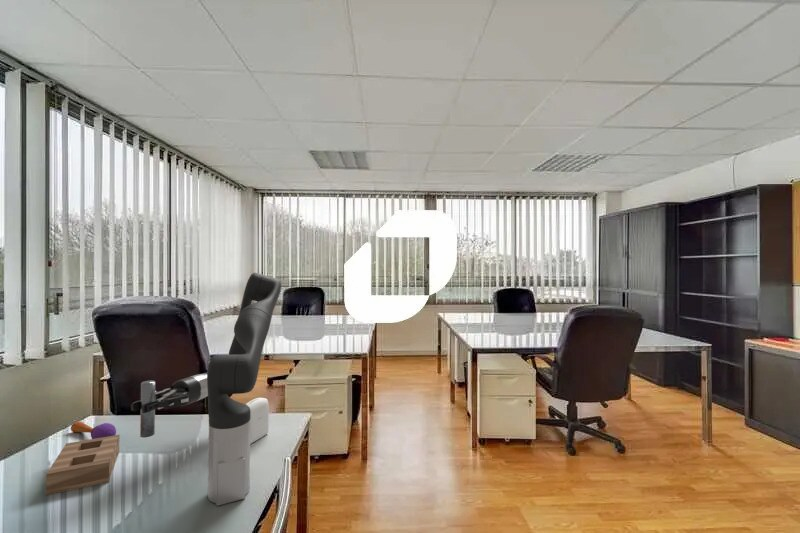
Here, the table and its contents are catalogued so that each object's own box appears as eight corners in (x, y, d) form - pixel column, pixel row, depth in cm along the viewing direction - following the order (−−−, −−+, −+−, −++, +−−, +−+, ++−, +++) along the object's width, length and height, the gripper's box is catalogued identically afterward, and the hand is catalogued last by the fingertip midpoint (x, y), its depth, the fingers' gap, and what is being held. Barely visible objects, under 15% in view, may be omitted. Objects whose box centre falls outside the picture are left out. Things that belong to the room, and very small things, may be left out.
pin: (154, 435, 102) (154, 382, 102) (139, 438, 100) (140, 384, 101) (155, 431, 105) (155, 379, 105) (140, 433, 103) (141, 381, 103)
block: (108, 482, 97) (109, 462, 97) (45, 495, 91) (46, 474, 91) (119, 451, 113) (119, 434, 113) (66, 461, 107) (66, 443, 107)
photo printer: (248, 446, 117) (248, 406, 117) (236, 444, 118) (237, 404, 118) (270, 433, 127) (271, 395, 127) (259, 431, 128) (260, 393, 128)
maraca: (89, 415, 130) (121, 423, 120) (85, 434, 128) (118, 443, 119) (67, 418, 124) (99, 426, 115) (63, 438, 123) (95, 447, 114)
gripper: (175, 374, 119) (118, 390, 102) (211, 378, 114) (157, 397, 98) (174, 398, 118) (117, 419, 102) (210, 404, 114) (157, 426, 98)
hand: (137, 408), depth 100 cm, fingers closed on pin, 3 cm apart
